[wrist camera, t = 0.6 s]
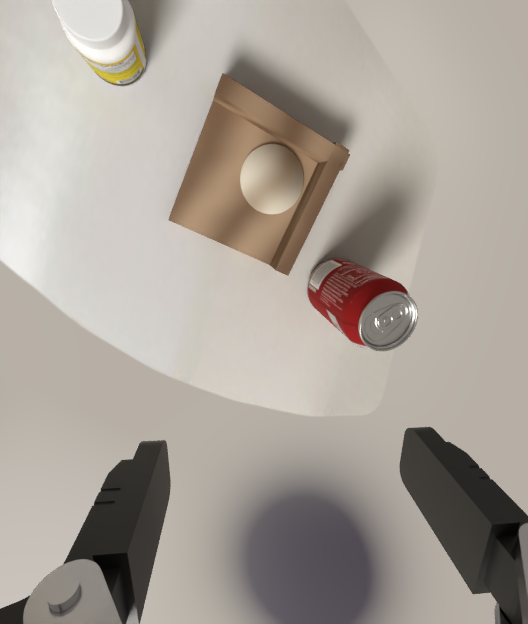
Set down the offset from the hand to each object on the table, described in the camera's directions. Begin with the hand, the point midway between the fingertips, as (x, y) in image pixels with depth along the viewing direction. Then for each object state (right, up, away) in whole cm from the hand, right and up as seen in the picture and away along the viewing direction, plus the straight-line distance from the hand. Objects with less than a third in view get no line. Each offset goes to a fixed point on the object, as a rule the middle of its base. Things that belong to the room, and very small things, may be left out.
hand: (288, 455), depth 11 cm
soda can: (+7, +8, +28) cm, 30 cm away
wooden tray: (-2, +18, +22) cm, 28 cm away
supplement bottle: (-13, +26, +16) cm, 33 cm away
